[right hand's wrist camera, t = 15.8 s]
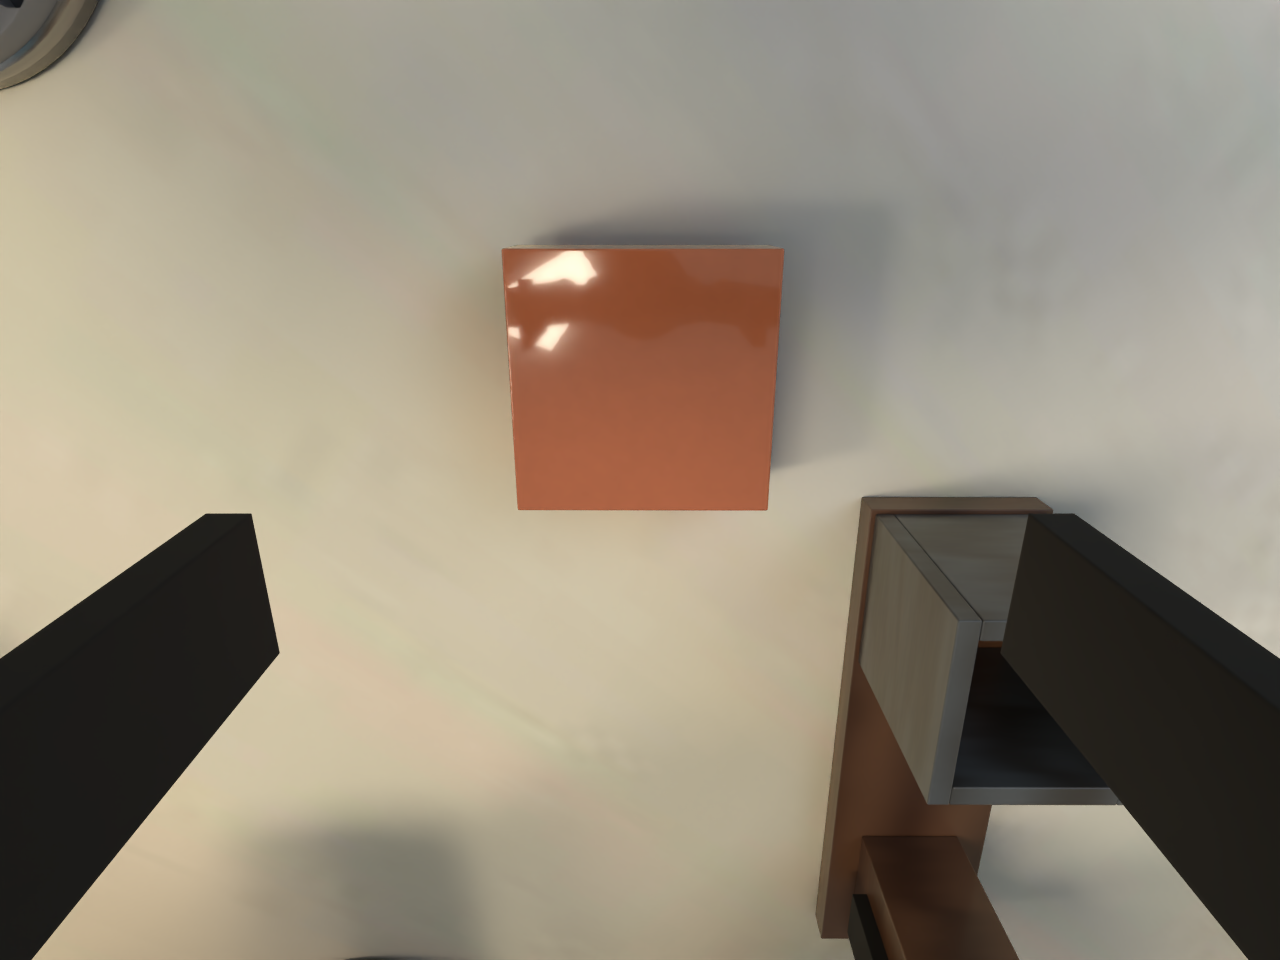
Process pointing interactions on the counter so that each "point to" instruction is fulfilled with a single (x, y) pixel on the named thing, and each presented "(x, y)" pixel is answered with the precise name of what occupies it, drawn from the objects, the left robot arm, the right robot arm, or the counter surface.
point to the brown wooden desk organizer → (935, 727)
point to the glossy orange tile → (642, 374)
